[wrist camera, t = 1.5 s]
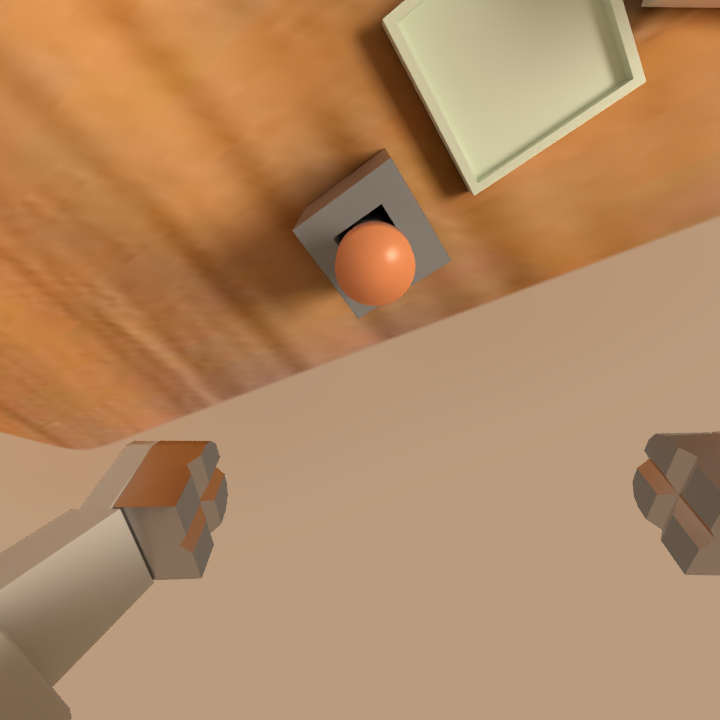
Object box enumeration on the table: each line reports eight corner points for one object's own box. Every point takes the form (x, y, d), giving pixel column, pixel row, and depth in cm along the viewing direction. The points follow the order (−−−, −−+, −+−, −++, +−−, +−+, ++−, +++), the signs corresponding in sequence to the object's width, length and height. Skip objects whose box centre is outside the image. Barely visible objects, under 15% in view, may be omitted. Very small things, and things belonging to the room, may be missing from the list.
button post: (305, 207, 27) (292, 230, 22) (384, 148, 25) (390, 157, 20) (358, 282, 29) (358, 318, 24) (434, 232, 28) (451, 260, 22)
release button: (327, 227, 24) (318, 258, 19) (381, 188, 23) (387, 210, 18) (363, 278, 25) (364, 319, 20) (416, 244, 24) (430, 278, 19)
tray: (381, 24, 22) (382, 19, 21) (564, -133, 19) (579, -150, 18) (468, 191, 26) (474, 195, 25) (630, 83, 23) (646, 81, 22)
